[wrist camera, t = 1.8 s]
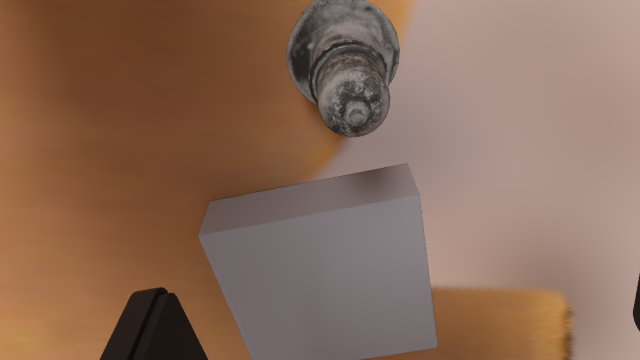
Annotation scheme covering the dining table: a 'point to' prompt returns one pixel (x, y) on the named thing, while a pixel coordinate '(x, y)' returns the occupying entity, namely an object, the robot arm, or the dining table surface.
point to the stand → (325, 267)
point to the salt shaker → (345, 63)
